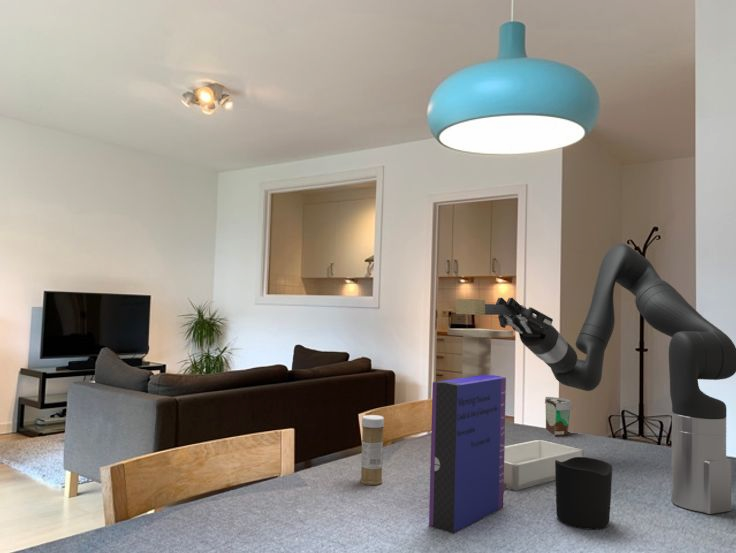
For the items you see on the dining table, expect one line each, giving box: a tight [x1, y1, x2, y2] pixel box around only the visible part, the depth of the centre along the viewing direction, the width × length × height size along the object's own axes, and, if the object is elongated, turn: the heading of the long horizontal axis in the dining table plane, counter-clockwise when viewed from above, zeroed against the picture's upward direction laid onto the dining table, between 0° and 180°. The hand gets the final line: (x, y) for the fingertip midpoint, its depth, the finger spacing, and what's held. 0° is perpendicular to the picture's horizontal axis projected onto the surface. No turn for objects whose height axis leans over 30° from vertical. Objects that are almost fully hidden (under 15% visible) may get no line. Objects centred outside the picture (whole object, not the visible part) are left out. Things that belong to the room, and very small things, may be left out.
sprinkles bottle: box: [360, 414, 385, 486], centre depth 123 cm, size 5×5×13 cm
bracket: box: [447, 328, 514, 491], centre depth 123 cm, size 10×9×32 cm
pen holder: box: [555, 456, 613, 530], centre depth 105 cm, size 9×9×10 cm
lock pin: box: [455, 298, 524, 316], centre depth 127 cm, size 18×5×3 cm, turn 129°
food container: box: [544, 396, 573, 438], centre depth 178 cm, size 12×6×10 cm, turn 179°
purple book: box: [428, 374, 507, 535], centre depth 106 cm, size 17×5×24 cm, turn 141°
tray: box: [504, 439, 585, 492], centre depth 133 cm, size 25×12×5 cm, turn 129°
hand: (503, 301), depth 129 cm, fingers closed on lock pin, 2 cm apart
